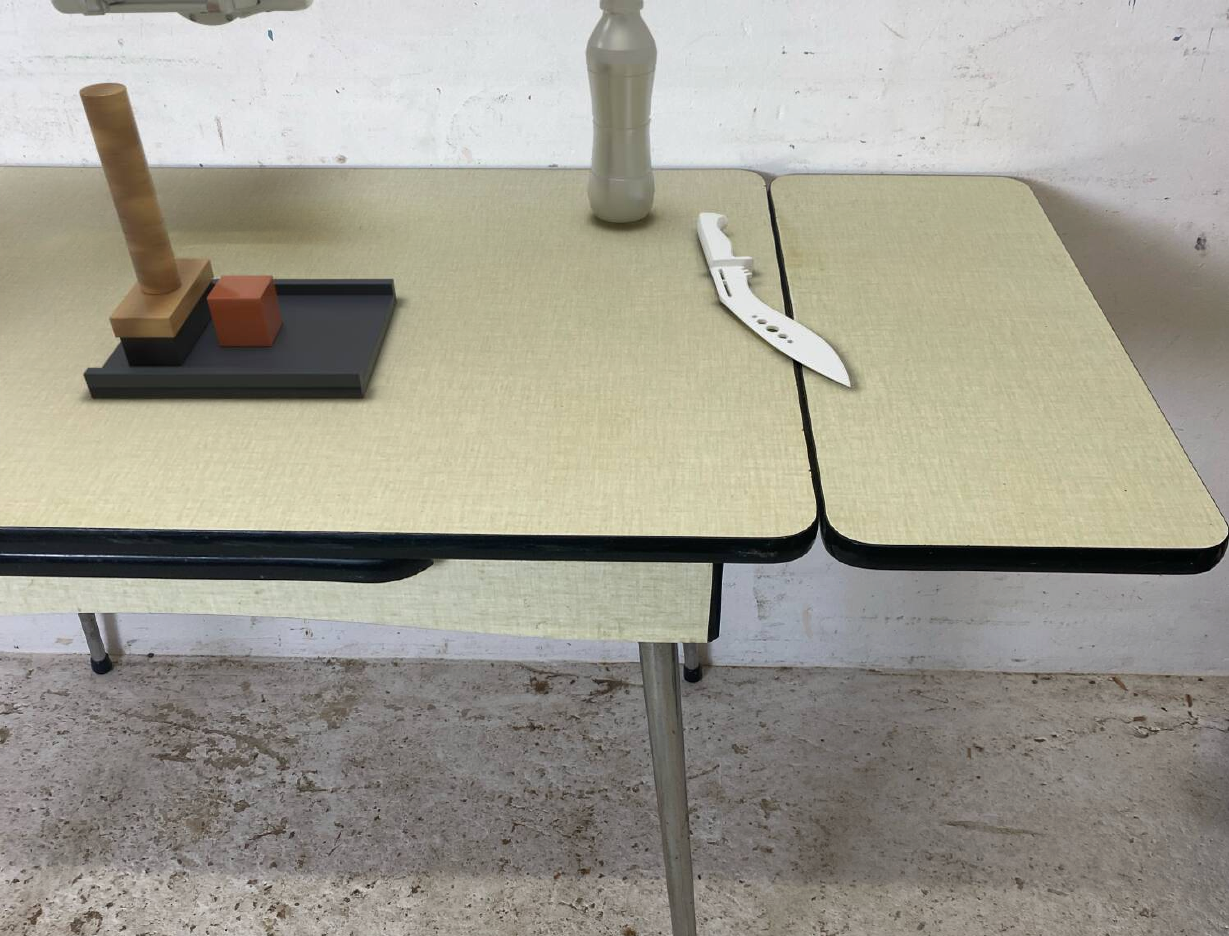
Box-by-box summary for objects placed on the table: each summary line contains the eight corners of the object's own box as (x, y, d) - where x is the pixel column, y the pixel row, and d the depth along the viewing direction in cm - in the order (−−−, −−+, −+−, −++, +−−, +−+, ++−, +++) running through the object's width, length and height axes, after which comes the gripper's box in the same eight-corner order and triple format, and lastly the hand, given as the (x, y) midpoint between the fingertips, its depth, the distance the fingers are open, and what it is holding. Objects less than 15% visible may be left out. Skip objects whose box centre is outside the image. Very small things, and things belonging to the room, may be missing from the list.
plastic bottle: (659, 206, 106) (665, -24, 93) (648, 233, 101) (653, -6, 88) (595, 202, 107) (591, -27, 94) (581, 229, 102) (576, -9, 89)
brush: (125, 367, 81) (38, 113, 69) (168, 305, 88) (97, 67, 76) (183, 367, 80) (107, 113, 69) (222, 305, 88) (159, 67, 76)
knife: (855, 377, 79) (751, 380, 79) (851, 396, 80) (749, 400, 80) (775, 208, 101) (693, 210, 100) (773, 226, 102) (692, 227, 101)
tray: (91, 398, 79) (82, 374, 78) (161, 301, 91) (154, 278, 90) (363, 398, 79) (358, 373, 78) (396, 301, 91) (393, 278, 90)
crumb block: (219, 346, 83) (206, 298, 80) (233, 322, 86) (221, 275, 83) (271, 346, 83) (259, 297, 80) (283, 322, 86) (272, 274, 83)
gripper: (68, -80, 88) (-5, -45, 78) (317, -84, 88) (277, -49, 78) (94, 6, 92) (28, 51, 82) (331, 3, 92) (295, 47, 82)
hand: (151, 2), depth 80 cm, fingers open, 8 cm apart
